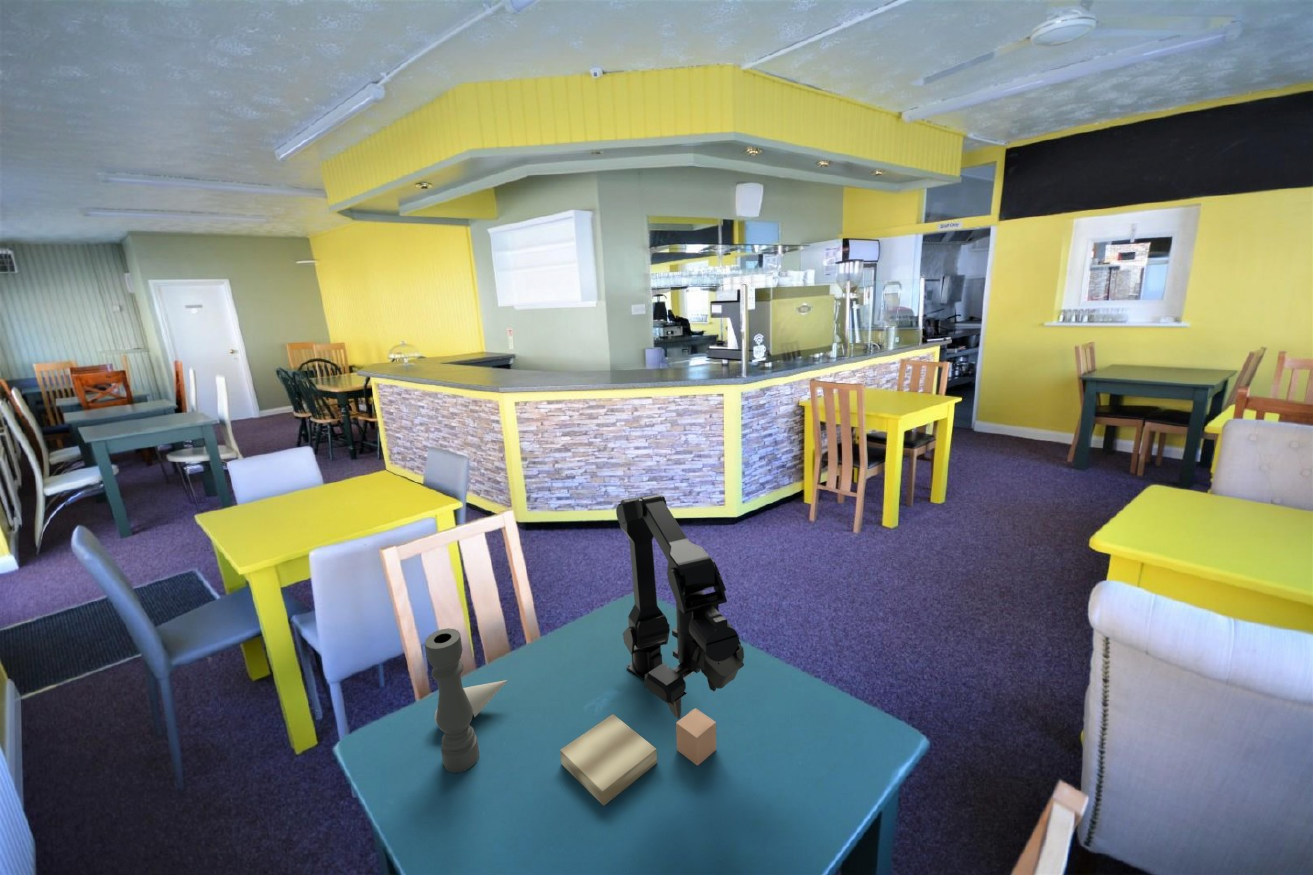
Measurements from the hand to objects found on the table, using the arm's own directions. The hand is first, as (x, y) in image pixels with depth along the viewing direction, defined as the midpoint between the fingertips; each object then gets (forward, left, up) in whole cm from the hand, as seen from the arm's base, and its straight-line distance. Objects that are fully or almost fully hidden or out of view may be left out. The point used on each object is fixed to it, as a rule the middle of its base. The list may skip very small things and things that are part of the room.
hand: (695, 703), depth 101 cm
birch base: (-9, -13, -10) cm, 19 cm away
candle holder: (-29, -31, -10) cm, 44 cm away
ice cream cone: (-38, -24, -10) cm, 46 cm away
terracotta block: (0, 0, -10) cm, 10 cm away
